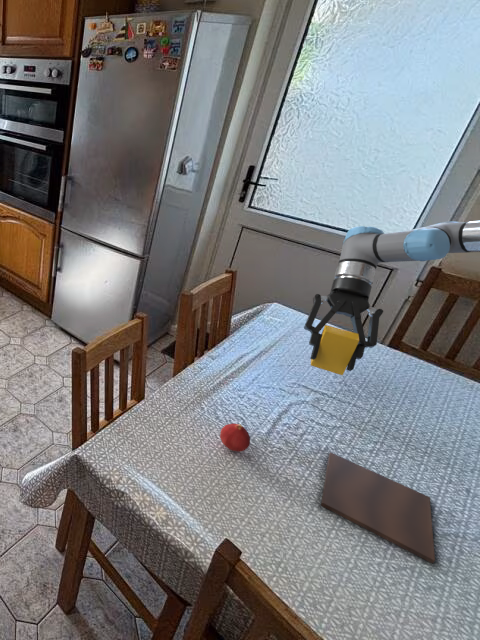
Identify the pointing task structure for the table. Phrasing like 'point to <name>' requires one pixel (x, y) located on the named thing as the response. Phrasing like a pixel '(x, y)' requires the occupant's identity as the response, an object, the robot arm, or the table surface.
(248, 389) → the table surface
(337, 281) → the robot arm
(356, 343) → the block
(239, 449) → the red round piece
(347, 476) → the board
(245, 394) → the table surface
